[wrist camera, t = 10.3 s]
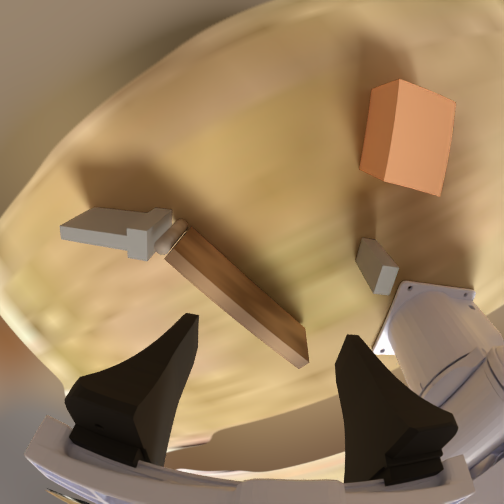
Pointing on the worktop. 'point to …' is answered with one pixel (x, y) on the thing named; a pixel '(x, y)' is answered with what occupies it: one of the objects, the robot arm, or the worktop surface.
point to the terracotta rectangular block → (408, 136)
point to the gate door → (233, 292)
